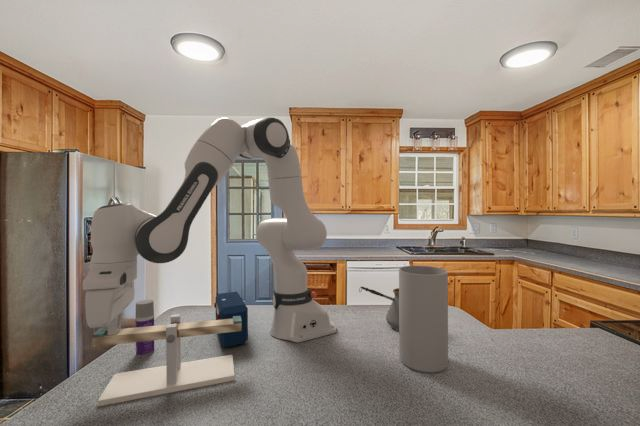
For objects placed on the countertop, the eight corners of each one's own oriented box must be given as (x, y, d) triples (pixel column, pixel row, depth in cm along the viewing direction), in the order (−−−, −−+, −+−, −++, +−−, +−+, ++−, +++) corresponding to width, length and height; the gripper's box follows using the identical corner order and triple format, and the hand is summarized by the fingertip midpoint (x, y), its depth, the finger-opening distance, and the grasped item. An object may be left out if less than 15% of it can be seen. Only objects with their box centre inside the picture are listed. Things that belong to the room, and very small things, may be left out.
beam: (240, 326, 79) (240, 315, 79) (241, 332, 75) (241, 321, 75) (99, 340, 68) (99, 327, 68) (91, 348, 64) (92, 335, 64)
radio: (213, 326, 105) (213, 271, 105) (238, 322, 108) (238, 268, 108) (219, 351, 86) (218, 284, 86) (249, 345, 89) (248, 281, 89)
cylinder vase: (413, 346, 88) (412, 264, 88) (455, 361, 79) (455, 269, 79) (390, 361, 79) (390, 270, 79) (435, 380, 70) (435, 277, 70)
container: (145, 357, 83) (145, 304, 83) (131, 355, 84) (131, 303, 83) (158, 349, 87) (157, 299, 87) (144, 348, 88) (144, 299, 88)
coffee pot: (410, 320, 109) (410, 280, 109) (425, 332, 98) (425, 288, 98) (355, 323, 107) (355, 282, 107) (364, 336, 95) (363, 291, 95)
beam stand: (232, 358, 82) (231, 306, 81) (234, 380, 71) (234, 320, 71) (115, 378, 72) (114, 319, 72) (97, 406, 62) (96, 338, 62)
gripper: (113, 266, 76) (113, 318, 76) (78, 283, 57) (78, 354, 57) (141, 264, 78) (141, 316, 78) (116, 281, 59) (115, 349, 59)
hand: (114, 332), depth 67 cm, fingers closed, pressing on beam
